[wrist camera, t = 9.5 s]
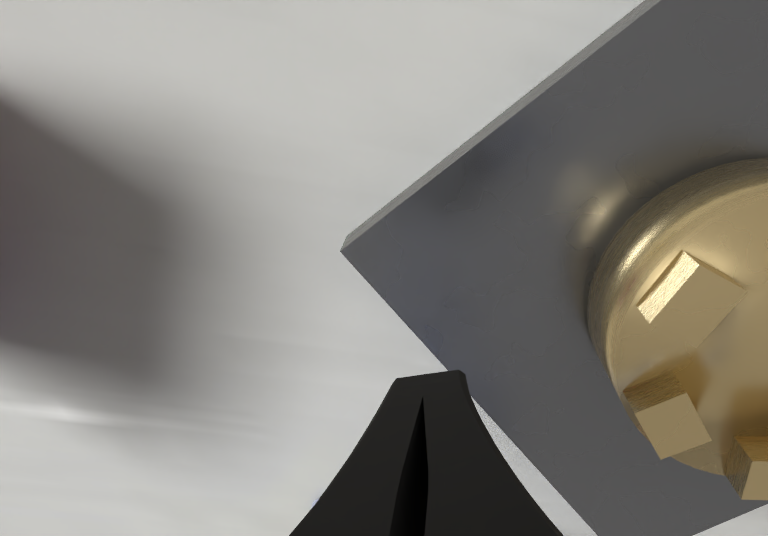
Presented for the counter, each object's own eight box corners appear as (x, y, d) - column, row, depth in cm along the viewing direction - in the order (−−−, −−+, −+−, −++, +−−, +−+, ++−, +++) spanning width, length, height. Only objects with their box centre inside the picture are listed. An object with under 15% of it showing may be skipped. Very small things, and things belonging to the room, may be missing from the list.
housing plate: (1093, 318, 18) (1156, 345, 16) (613, 533, 24) (625, 568, 22) (874, -182, 13) (933, -212, 12) (346, 235, 19) (338, 253, 17)
